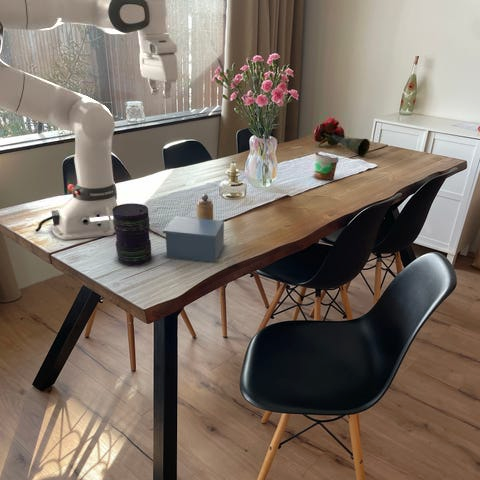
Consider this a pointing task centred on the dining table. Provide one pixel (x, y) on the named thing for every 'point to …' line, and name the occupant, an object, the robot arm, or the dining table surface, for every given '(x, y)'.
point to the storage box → (195, 247)
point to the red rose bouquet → (340, 137)
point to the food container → (324, 167)
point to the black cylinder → (132, 234)
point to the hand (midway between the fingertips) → (160, 96)
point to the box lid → (194, 227)
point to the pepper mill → (205, 208)
